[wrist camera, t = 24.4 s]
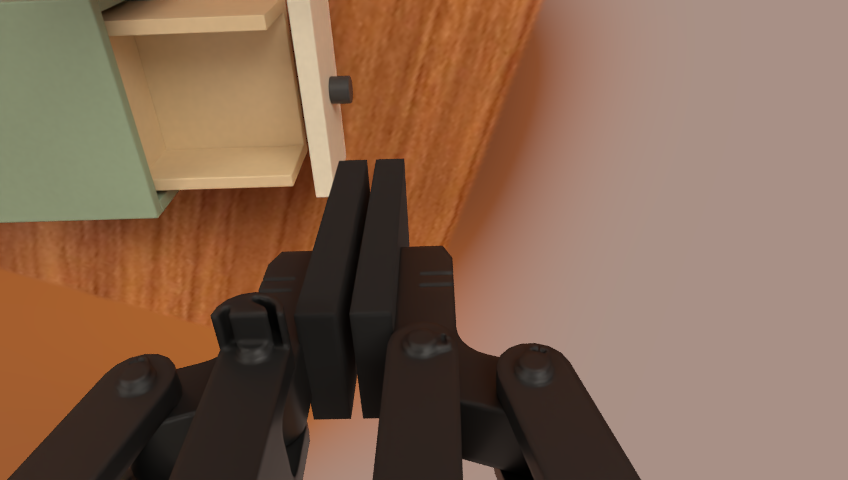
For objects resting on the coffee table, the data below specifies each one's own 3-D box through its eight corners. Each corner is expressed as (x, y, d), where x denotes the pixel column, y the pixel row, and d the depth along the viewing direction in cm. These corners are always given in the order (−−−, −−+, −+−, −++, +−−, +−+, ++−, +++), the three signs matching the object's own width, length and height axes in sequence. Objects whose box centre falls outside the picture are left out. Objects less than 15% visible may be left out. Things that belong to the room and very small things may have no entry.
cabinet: (149, -27, 37) (89, -2, 30) (198, 164, 43) (158, 218, 37) (-73, -18, 37) (-179, 9, 31) (10, 170, 44) (-62, 225, 37)
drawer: (346, -22, 36) (333, -2, 31) (363, 156, 42) (355, 196, 37) (116, -13, 36) (67, 8, 31) (166, 163, 42) (132, 203, 37)
